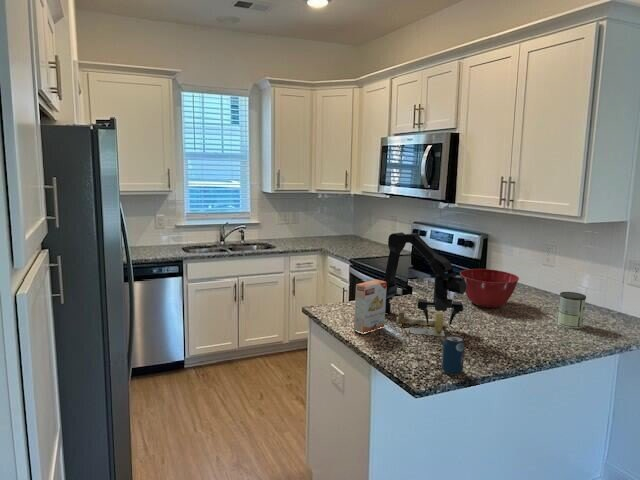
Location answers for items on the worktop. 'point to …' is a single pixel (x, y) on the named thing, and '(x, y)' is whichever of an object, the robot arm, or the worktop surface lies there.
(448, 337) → the soda can
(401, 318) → the trammel beam
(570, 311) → the coffee can
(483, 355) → the worktop surface
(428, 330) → the bolt plate
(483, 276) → the mixing bowl
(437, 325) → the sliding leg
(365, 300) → the cracker box
